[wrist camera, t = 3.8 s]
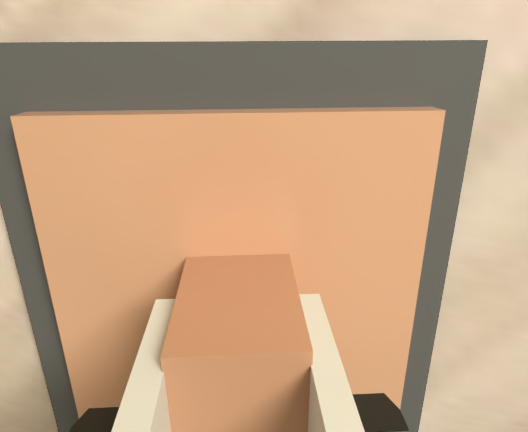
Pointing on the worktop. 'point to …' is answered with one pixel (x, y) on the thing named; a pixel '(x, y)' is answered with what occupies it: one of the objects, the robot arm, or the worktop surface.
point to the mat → (239, 97)
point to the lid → (232, 249)
